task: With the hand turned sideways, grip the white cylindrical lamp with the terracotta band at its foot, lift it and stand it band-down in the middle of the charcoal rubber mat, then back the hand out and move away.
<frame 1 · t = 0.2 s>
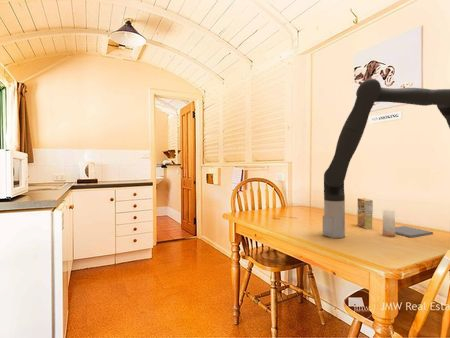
white cylindrical lamp: (388, 235, 128), on the table
candy box: (364, 227, 145), on the table
mat: (407, 232, 132), on the table
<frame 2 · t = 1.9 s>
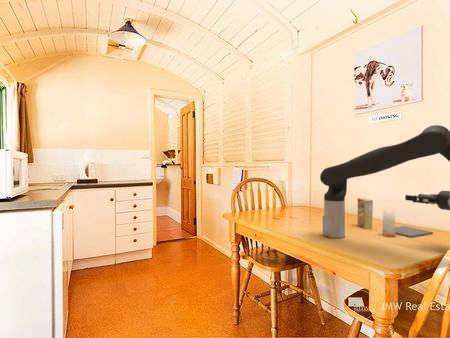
hand: (412, 196, 117), 20 cm above the table, tool horizontal, fingers open, 8 cm apart
nothing on the table moved.
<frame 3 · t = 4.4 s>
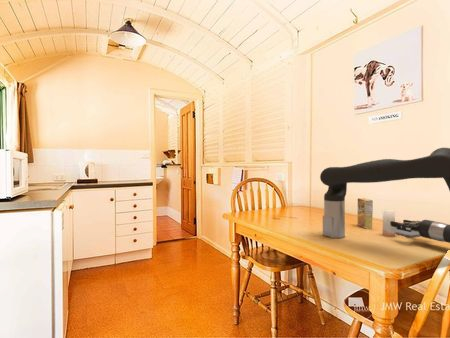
hand: (397, 222, 124), 7 cm above the table, tool horizontal, fingers open, 8 cm apart
nothing on the table moved.
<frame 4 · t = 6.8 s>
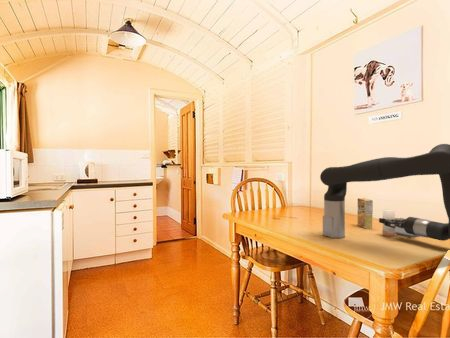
hand: (383, 219, 130), 7 cm above the table, tool horizontal, fingers closed on white cylindrical lamp, 5 cm apart
white cylindrical lamp: (388, 235, 128), on the table, touching gripper
everything else where it was.
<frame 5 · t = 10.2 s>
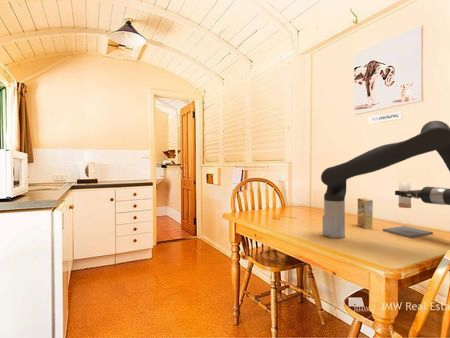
hand: (399, 192, 133), 20 cm above the table, tool horizontal, fingers closed on white cylindrical lamp, 5 cm apart
white cylindrical lamp: (404, 207, 131), point 13 cm above the table, touching gripper
everything else where it was.
when the fingers open (9 cm above the table, at t = 13.9 s): white cylindrical lamp drops 1 cm, resting on mat.
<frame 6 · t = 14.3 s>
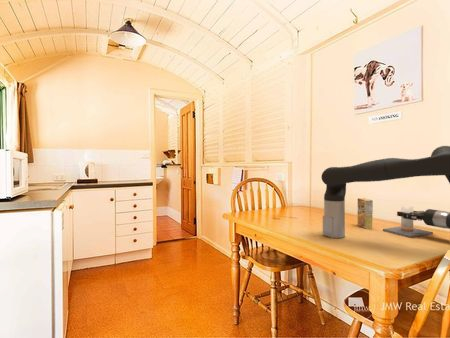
hand: (403, 212, 134), 10 cm above the table, tool horizontal, fingers open, 8 cm apart
white cylindrical lamp: (407, 230, 132), point 1 cm above the table, touching mat
everything else where it was.
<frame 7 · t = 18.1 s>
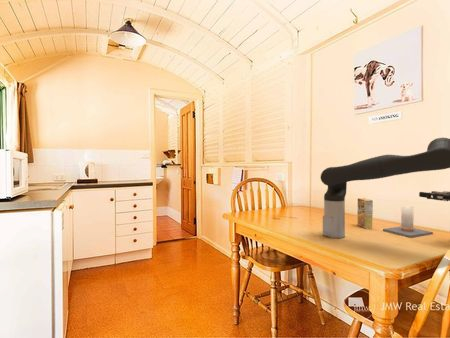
hand: (425, 193, 122), 20 cm above the table, tool horizontal, fingers open, 8 cm apart
nothing on the table moved.
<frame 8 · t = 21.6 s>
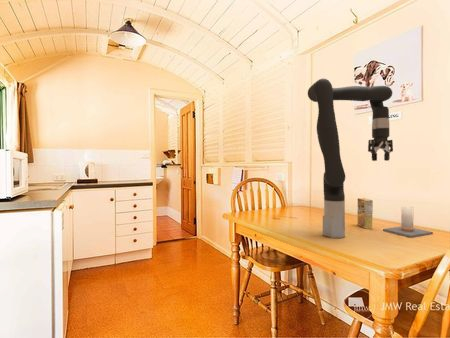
hand: (380, 160, 132), 36 cm above the table, tool pointing down, fingers open, 8 cm apart
nothing on the table moved.
at the end: white cylindrical lamp inside the target area on the mat (0.1 cm from its centre), point 1.0 cm above the mat's base; white cylindrical lamp tilted 0°; the gripper is holding nothing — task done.
